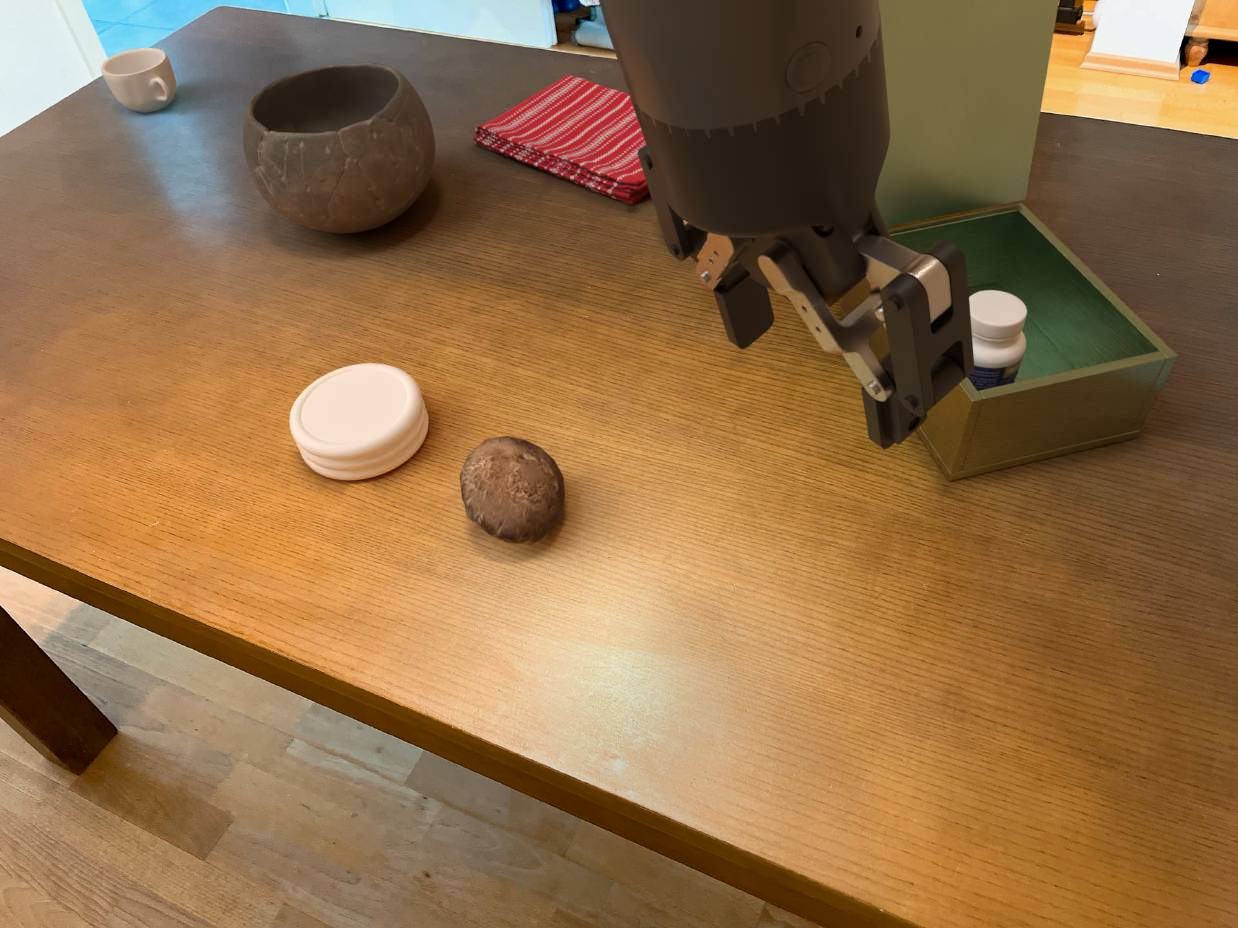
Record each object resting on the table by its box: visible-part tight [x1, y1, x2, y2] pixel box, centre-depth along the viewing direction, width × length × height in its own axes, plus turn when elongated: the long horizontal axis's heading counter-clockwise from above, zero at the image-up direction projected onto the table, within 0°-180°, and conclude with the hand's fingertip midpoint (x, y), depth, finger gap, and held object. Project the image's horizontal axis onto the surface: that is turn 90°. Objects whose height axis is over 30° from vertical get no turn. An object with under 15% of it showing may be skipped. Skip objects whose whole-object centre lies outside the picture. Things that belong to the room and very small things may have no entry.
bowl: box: [242, 62, 436, 234], centre depth 89 cm, size 18×18×13 cm
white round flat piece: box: [288, 362, 430, 481], centre depth 70 cm, size 10×10×4 cm
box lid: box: [875, 0, 1060, 228], centre depth 68 cm, size 20×15×4 cm
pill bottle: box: [967, 290, 1027, 391], centre depth 65 cm, size 5×5×9 cm
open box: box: [839, 202, 1179, 482], centre depth 69 cm, size 20×15×8 cm
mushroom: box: [459, 435, 566, 546], centre depth 63 cm, size 8×8×6 cm
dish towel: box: [472, 74, 650, 205], centre depth 100 cm, size 17×24×3 cm
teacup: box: [100, 47, 177, 113], centre depth 112 cm, size 10×8×5 cm
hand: (819, 379), depth 39 cm, fingers open, 8 cm apart
